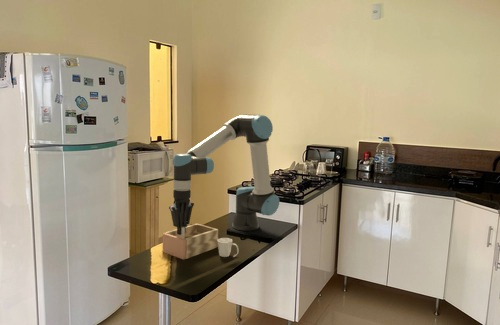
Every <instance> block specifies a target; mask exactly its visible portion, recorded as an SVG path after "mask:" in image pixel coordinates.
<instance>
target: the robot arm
mask: <svg viewBox="0 0 500 325" xmlns="http://www.w3.org/2000/svg"><path fill="white" fill-rule="evenodd" d="M273 128H274V127H273V123H272V120H271V119H270V118H269V117H268V116H266V115H262V114H248V113H247V114H245V113H244V114H240V115H237V116H235V117H232V118H231V119H230V120H228V121H226V122H225V123H224V124H222V126H221V128H220V129H218V130H216V131H215V132H213V133H211V135H209V136H208V137H207V138H205V139H203V140H202V141H200V142H199V143H198V144H196V145H194V146H193V147H192V148H190V149H189V150H187V151H185V152H184V153H177V154H175V155H174V157H173V158H172V165H173V192H172V194H173V196H172V197H173V204H172V205H171V206H168V209H169V210H170V214H171V221H172V226H173V227H175V228H176V229H177V234H178V237H179V238H182V239H185V232H186V227H187V226H189V225H190V221H191V217H192V211H193V208H194V205H195V203H194V202H191V200H190V198H191V193H192V192H191V189H192V185H191V184H192V176H195V175H196V176H197V175H207V174H211V173H212V172H214V168H215V163H214V161H213V159H212V158H211V157H208V156H209V155H211V154H212V153H214V152H215V151H216V150H218V149H219V148H220V147H222V146H224V145H225V144H226V143H228V142H229V141H233V140H235V139H237V138H239V137H240V138H241V137H245V138H246V143H247V144H248V145H249V148H250V158H251V167H252V175H253V184H254V186H243V187H238V188H237V190H236V194H235V214H234V217H233V221H232V225H231V226H232V229H234V230H238V231H244V232H245V231H247V232H248V231H255V230H258V229H259V226H260V222H259V220H258V215H257V214H260V215H263V216H268V217H269V216H273V215H274V214H275V213H277V211H278V209H279V207H280V198H279V196H278V195H276V194H275V189H274V188H273V187H272V185H271V178H270V177H271V176H270V167H269V166H270V165H269V157H268V156H269V155H268V147H267V143H268V142H269V141H270V138H271V136H272V132H273V131H274V129H273Z"/></svg>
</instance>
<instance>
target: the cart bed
mask: <svg viewBox="0 0 500 325" xmlns="http://www.w3.org/2000/svg"><path fill="white" fill-rule="evenodd" d="M164 233H167V234H170V235H173V236H176V237H178V234H177V228H176V229H173V230H169V231H166V232H164ZM218 239H219V229H218V228H215V227H211V226H207V225H204V224H200V223H194V224H191V225H190V224H189V225H188V226H187V227H186V232H185V240H186V259H190V258H193V257H196V256H198V255H200V254H203V253H206V252H208V251H211V250H214V249H216V248H217V249H218ZM186 259H185V260H186Z"/></svg>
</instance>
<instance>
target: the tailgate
mask: <svg viewBox="0 0 500 325" xmlns="http://www.w3.org/2000/svg"><path fill="white" fill-rule="evenodd" d="M162 253H165V254H167V255H169V256H172V257H175V258H178V259H181V260H183V261H184V260H186V240H185V239H182V238H179V237H176V236H173V235H170V234H167V233H165V232H164V233H162Z"/></svg>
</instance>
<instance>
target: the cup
mask: <svg viewBox="0 0 500 325" xmlns="http://www.w3.org/2000/svg"><path fill="white" fill-rule="evenodd" d="M232 246H235V248H236V252H237V253H236V254H234V255H233V258H235V257H236V256H237V255H238V254H239V245H237V243H233V239H232V238H229V237H221V238H218V247H217V249H218V254H219V257H223V258H227V257H229V256H230V254H231V251H232Z"/></svg>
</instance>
